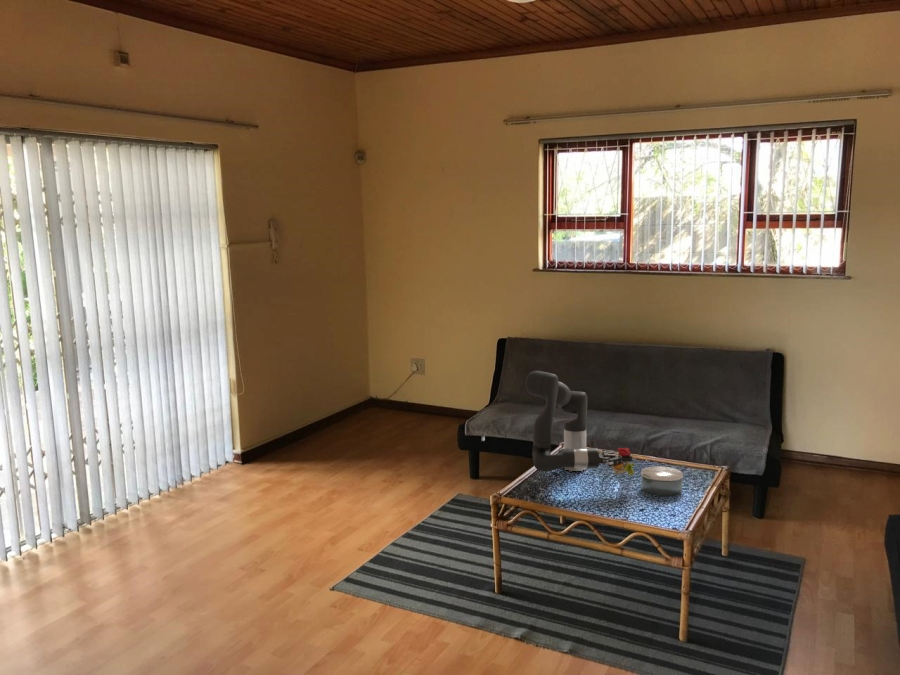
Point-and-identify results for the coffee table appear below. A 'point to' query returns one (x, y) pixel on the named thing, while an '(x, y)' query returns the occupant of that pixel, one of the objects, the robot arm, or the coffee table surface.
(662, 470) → the biscuit tin
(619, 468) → the bird rattle
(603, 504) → the coffee table surface
